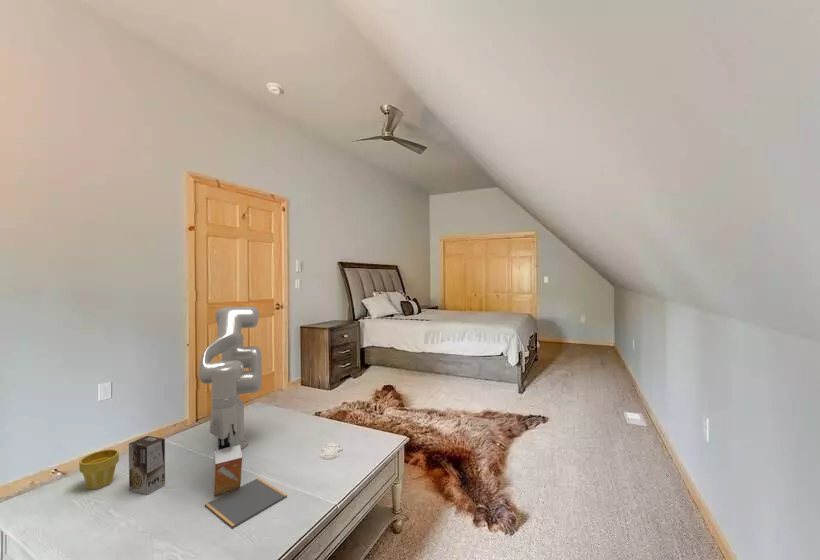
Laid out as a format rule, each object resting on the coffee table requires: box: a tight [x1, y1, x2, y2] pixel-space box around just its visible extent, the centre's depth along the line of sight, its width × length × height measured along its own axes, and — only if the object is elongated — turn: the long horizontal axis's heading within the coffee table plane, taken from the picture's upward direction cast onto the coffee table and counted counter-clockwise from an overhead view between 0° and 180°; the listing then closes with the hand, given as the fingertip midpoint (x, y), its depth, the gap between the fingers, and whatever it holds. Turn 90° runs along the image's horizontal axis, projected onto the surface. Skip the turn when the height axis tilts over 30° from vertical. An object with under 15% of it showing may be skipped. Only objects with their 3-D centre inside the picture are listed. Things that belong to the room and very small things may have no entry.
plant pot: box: [78, 448, 120, 490], centre depth 122 cm, size 10×10×10 cm
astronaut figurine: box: [319, 442, 343, 461], centre depth 144 cm, size 9×12×3 cm
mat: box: [204, 477, 288, 530], centre depth 112 cm, size 17×18×1 cm
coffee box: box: [128, 435, 166, 496], centre depth 120 cm, size 9×6×16 cm
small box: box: [212, 445, 243, 496], centre depth 118 cm, size 8×6×13 cm
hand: (224, 454), depth 120 cm, fingers closed
